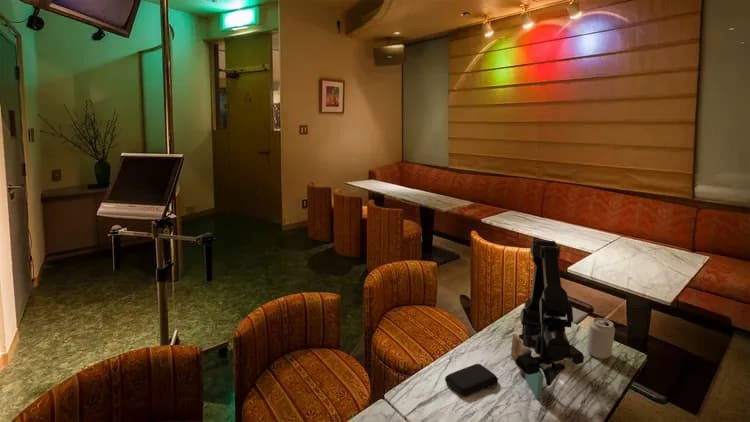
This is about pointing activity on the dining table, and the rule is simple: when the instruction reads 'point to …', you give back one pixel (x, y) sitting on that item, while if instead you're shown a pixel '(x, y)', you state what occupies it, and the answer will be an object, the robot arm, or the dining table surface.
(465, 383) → the carrying case or bag
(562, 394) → the dining table surface
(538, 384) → the hinge leaf
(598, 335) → the can
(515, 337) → the fixed leaf
